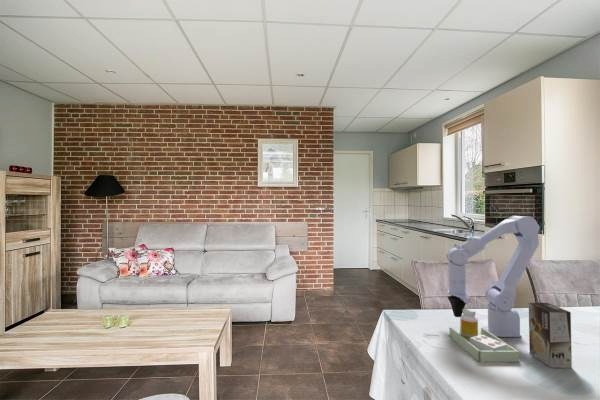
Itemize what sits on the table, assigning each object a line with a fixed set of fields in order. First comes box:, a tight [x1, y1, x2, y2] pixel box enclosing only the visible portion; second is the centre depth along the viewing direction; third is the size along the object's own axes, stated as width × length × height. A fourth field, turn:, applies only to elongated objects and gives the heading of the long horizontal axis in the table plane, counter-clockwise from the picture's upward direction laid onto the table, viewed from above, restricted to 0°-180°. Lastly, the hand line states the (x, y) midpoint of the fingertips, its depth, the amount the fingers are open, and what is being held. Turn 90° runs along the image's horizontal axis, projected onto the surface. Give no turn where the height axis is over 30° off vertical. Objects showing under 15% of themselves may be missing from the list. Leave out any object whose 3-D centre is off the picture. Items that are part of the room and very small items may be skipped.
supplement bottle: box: [459, 308, 479, 342], centre depth 107 cm, size 5×5×10 cm
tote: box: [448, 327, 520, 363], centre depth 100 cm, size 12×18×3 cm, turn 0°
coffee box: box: [528, 302, 573, 369], centre depth 93 cm, size 9×6×16 cm
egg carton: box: [469, 334, 508, 351], centre depth 97 cm, size 6×8×5 cm
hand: (457, 316), depth 115 cm, fingers closed
